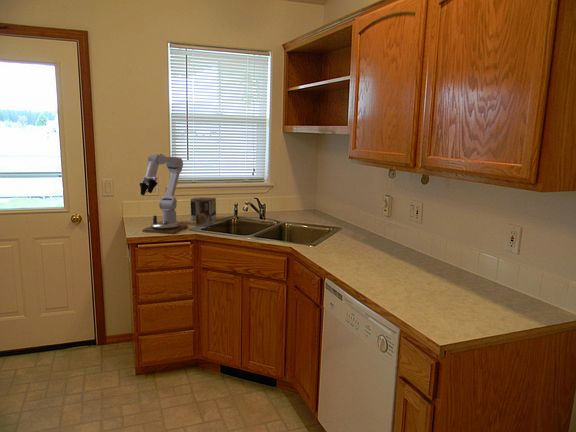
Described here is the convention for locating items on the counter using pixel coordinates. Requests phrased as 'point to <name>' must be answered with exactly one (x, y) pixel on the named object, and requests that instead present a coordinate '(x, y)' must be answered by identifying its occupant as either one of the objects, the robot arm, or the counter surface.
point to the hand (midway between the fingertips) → (145, 193)
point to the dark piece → (193, 207)
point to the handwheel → (164, 224)
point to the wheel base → (166, 231)
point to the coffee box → (203, 213)
